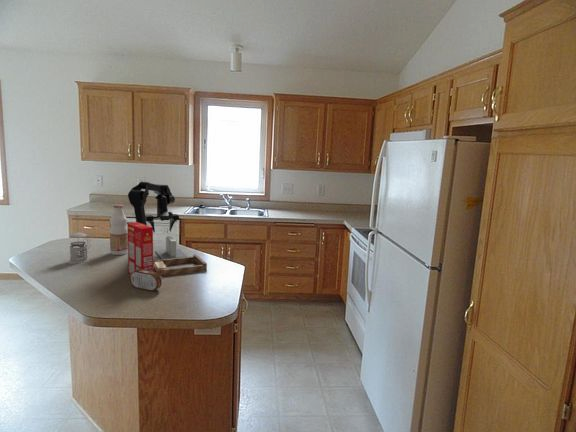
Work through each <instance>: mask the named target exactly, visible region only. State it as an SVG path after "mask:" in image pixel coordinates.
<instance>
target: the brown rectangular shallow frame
mask: <svg viewBox="0 0 576 432" xmlns="http://www.w3.org/2000/svg"><path fill="white" fill-rule="evenodd" d="M159 261H163V263H164V264H165V266H173V265H181V264H183V263H184V264H190V263H194V264H195V265H189V266H178V267H173V268H166V269H163V276H164V277H166V276H175V275H177V276H178V275H183V274H191V273H192V274H193V273H200V272H207V270H208V268H207V266H208V264H207V262H205V260H203V259H202V257H200V256H199V255H197V254H193V256H187V257H182V258H172V259H162V260H161V259H155V262H159ZM184 264H183V265H184Z"/></svg>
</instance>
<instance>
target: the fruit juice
mask: <svg viewBox="0 0 576 432" xmlns="http://www.w3.org/2000/svg"><path fill="white" fill-rule="evenodd" d="M112 208H113V212H112V214H111V217H110V218H109V225H110V228H109V249H110V251H109V252H110V254H111V255H115V256H122V255H123V256H124V255H128V228H127V223H128V218H127V216H126V215H125V212H124V210H123V208H124V205H123V204H113V207H112Z"/></svg>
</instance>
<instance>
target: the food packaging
mask: <svg viewBox="0 0 576 432" xmlns="http://www.w3.org/2000/svg"><path fill="white" fill-rule="evenodd" d="M126 226H127V228H128V253H127V266H128V267H127V268H128V270H127V271H128V274H129V275H131V273H132V272H133V271H135V270H137V269H143V270H148V271H153V272H154V232H153V227H151V225H145V224H142V223H139V222H136V221H135V222H127V225H126Z"/></svg>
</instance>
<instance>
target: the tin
mask: <svg viewBox="0 0 576 432" xmlns="http://www.w3.org/2000/svg"><path fill="white" fill-rule="evenodd" d="M129 275H130V274H129ZM129 278H130V283H131V285H132V286H133V287H135V288H137V289H141V290H144V291H145V290H146V291H151V292H154V291H156V290H159V289H160V288H161V286H162V284H163V283H162V278H161V275H158V273H157V271H154V270H153V271H148V270H143V269H137V270H135V271H133V272H132V273H131V275H130V277H129Z"/></svg>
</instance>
